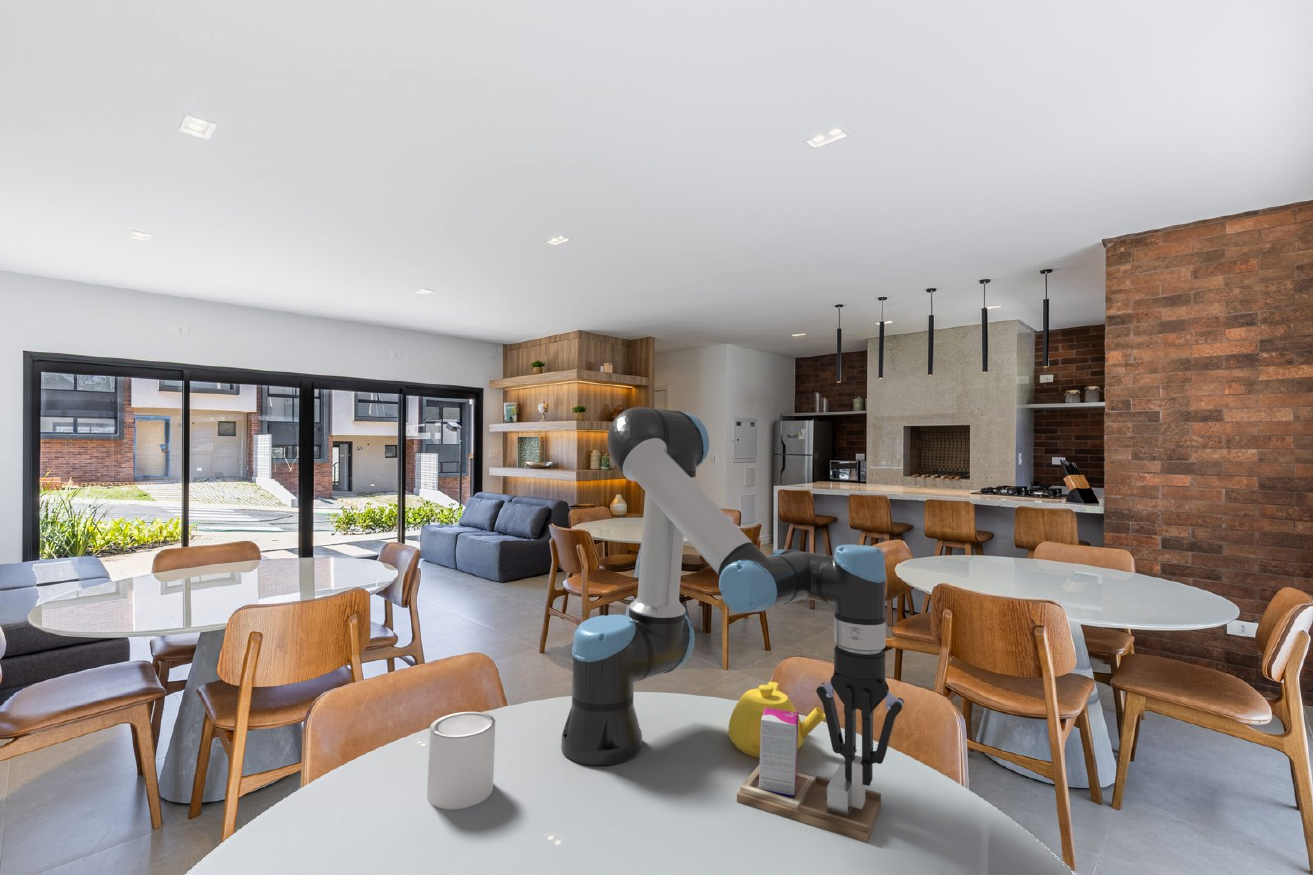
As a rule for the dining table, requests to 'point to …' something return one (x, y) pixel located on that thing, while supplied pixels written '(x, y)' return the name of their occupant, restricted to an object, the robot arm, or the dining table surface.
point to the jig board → (812, 805)
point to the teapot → (751, 710)
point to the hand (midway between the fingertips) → (858, 803)
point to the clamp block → (839, 794)
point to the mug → (461, 760)
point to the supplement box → (778, 752)
